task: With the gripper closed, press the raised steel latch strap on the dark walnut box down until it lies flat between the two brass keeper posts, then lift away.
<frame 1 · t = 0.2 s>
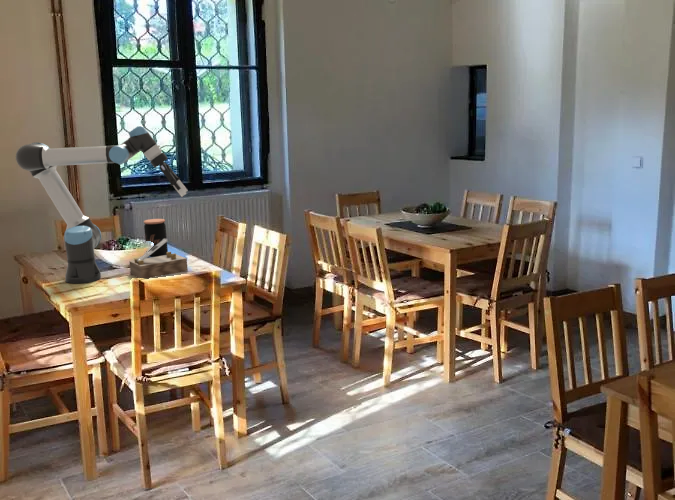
hand: (184, 193, 331), 35 cm above the table, tool tilted 35°, fingers open, 13 cm apart
walnut box: (159, 272, 329), on the table
latch strap: (152, 250, 325), point 11 cm above the table, hinge at 30.0°
coffee jar: (157, 255, 366), on the table
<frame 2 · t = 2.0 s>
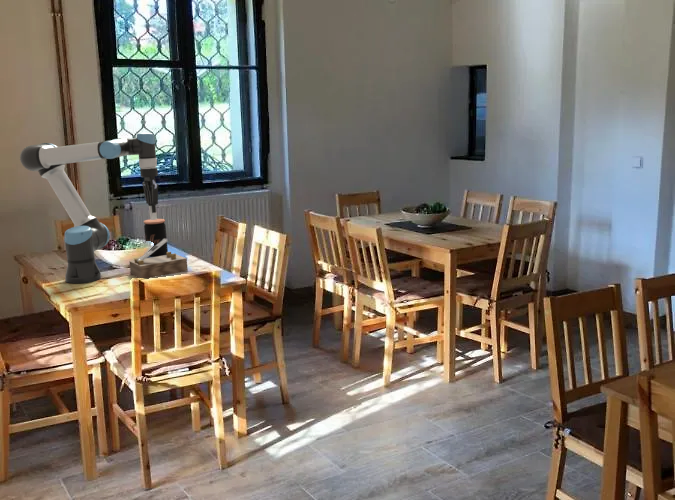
hand: (153, 219, 325), 25 cm above the table, tool pointing down, fingers closed
nothing on the table moved.
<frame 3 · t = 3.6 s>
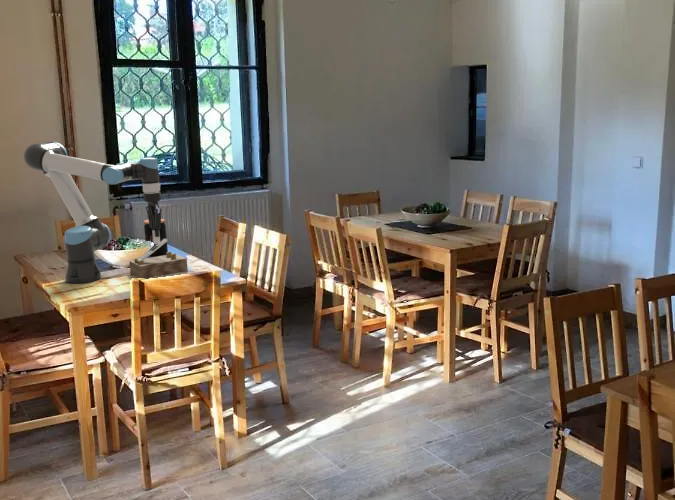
hand: (156, 243, 326), 14 cm above the table, tool pointing down, fingers closed
latch strap: (152, 250, 325), point 11 cm above the table, hinge at 30.0°, touching gripper
everything else where it was.
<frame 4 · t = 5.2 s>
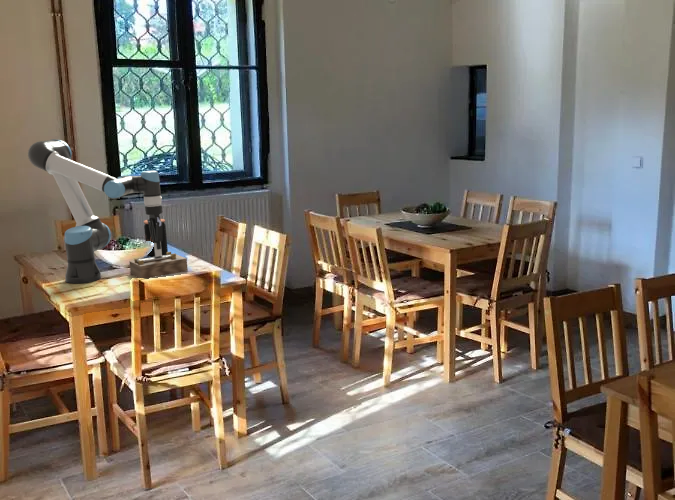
hand: (158, 255, 327), 8 cm above the table, tool pointing down, fingers closed
latch strap: (155, 258, 326), point 7 cm above the table, hinge at -0.2°, touching gripper
everything else where it was.
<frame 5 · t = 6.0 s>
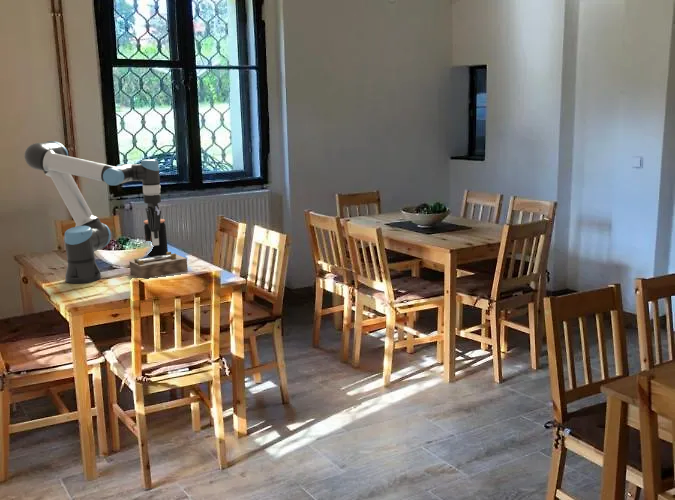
hand: (155, 245, 326), 13 cm above the table, tool pointing down, fingers closed
latch strap: (155, 258, 326), point 7 cm above the table, hinge at -0.2°
everything else where it was.
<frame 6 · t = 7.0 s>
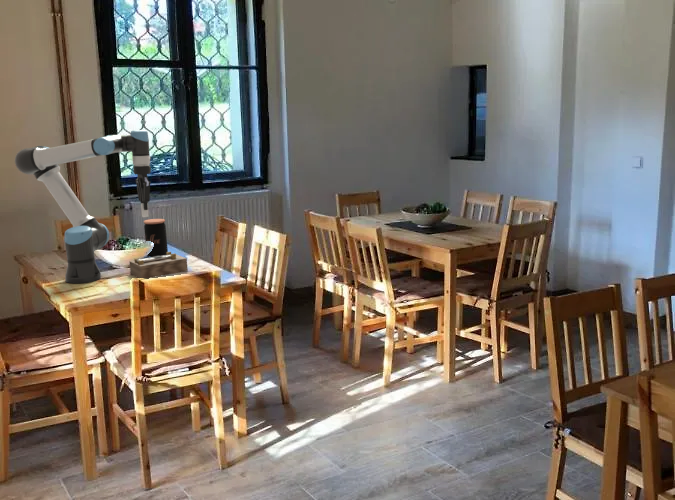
hand: (145, 216, 325), 26 cm above the table, tool pointing down, fingers closed
nothing on the table moved.
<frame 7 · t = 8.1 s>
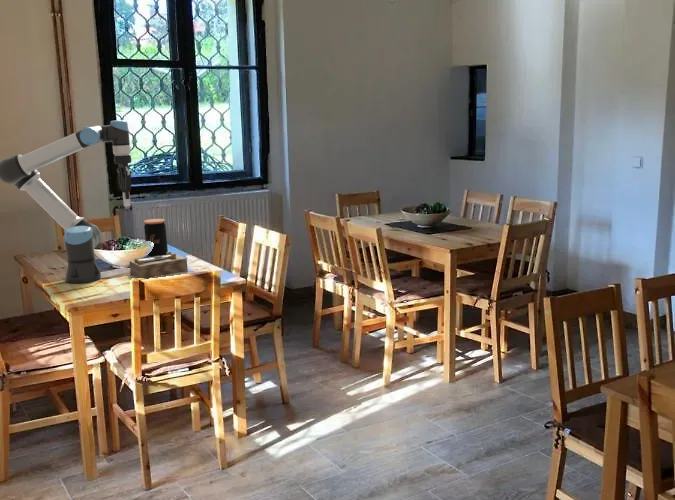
hand: (127, 205, 329), 30 cm above the table, tool pointing down, fingers closed
nothing on the table moved.
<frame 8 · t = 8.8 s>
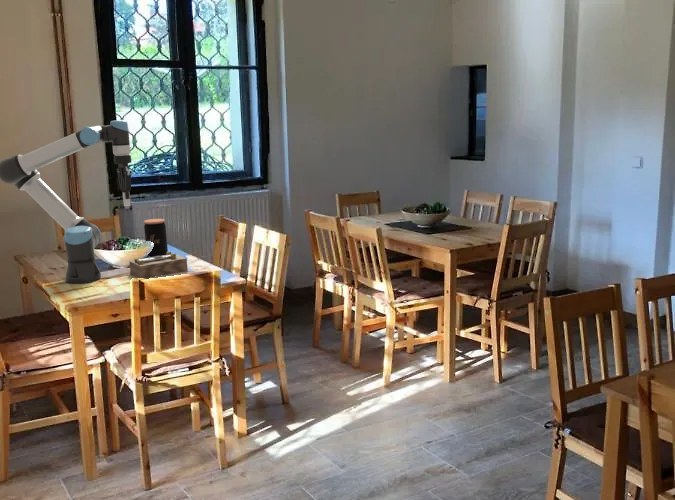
hand: (127, 205, 329), 30 cm above the table, tool pointing down, fingers closed
nothing on the table moved.
at the end: latch strap at +0° (first picture: +30°); the gripper is holding nothing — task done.
